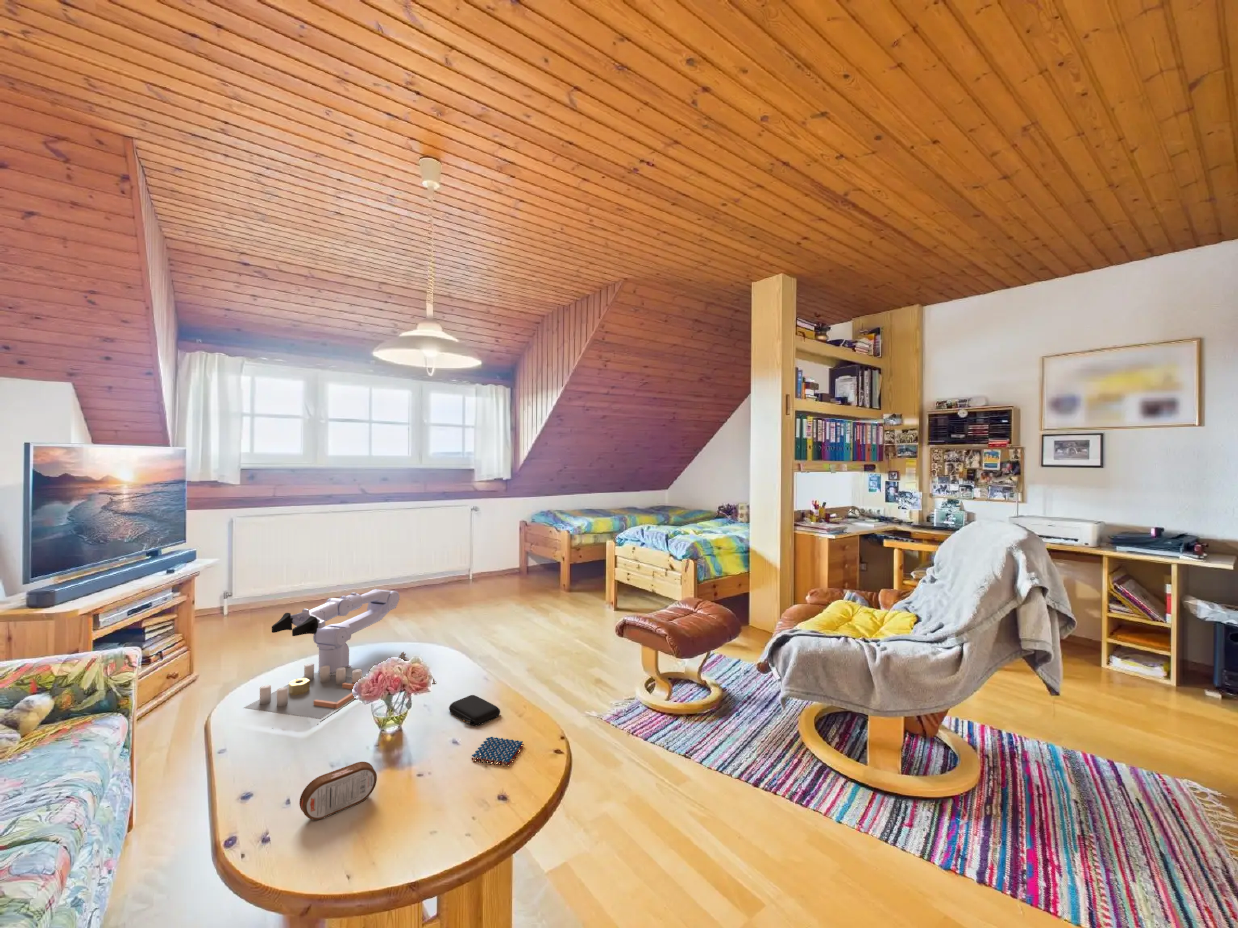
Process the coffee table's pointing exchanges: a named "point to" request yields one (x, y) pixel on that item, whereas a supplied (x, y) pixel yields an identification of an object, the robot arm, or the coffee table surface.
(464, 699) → the carrying case or bag
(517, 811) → the coffee table surface
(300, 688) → the brass nut
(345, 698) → the parts bay
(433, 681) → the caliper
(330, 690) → the plate
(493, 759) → the woven mat
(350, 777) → the tin
